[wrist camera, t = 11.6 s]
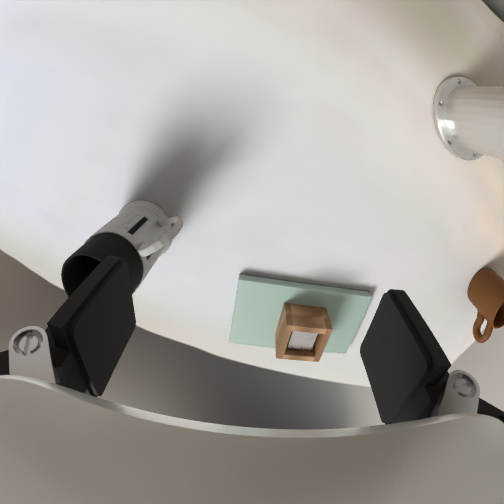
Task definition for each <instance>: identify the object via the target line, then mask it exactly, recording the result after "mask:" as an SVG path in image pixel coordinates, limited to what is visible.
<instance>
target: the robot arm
mask: <svg viewBox="0 0 504 504" xmlns="http://www.w3.org/2000/svg"><path fill="white" fill-rule="evenodd" d="M433 113H434V121H435V125H436V129H437V131H438V134H439V137H440V138H441V140H442V142H443V144H444V145H445V146H446V148H447V149H448V150H449V151H450V152H451V153H452V154H454V155H455V156H457V157H459V158H462V159H465V160H475V159H478V158H480V157H481V156H483V155H484V154H485V155H488V156H491V157H495V158H498V159H501V160H504V86H478V85H476V84H475V83H474V82H473V81H471V80H469V79H467V78H464V77H451V78H448V79H446V80H445V81H443V82H442V83H441V84H440V86H439V88H438V89H437V92H436V94H435V98H434V106H433ZM47 325H48V328H47V329H46V330H45V331H44V330H43V329H42V328H40V327H36V326H30V327H26V328H22V329H20V330H19V331H18V332H16V333H15V334H14V335H13V336H12V338H11V340H10V343H9V350H7V351H4V352H0V504H504V412H503V411H501V410H500V409H498V408H496V407H494V406H493V405H491V404H489V403H487V402H486V401H484V400H482V399H480V398H479V395H480V389H479V386H478V383H477V381H476V380H475V378H474V377H472V376H471V375H470V374H469V373H467V372H465V371H462V370H455V371H453V372H451V373H450V374H449V373H448V371H447V370H448V369H449V368H450V366H451V364H450V362H449V360H448V358H447V357H446V355H445V353H444V352H443V350H442V348H441V346H440V345H439V343H438V341H437V340H436V338H435V337H434V335H433V333H432V332H431V330H430V329H429V327H428V325H427V324H426V322H425V321H424V319H423V318H422V316H421V315H420V313H419V312H418V310H417V309H416V307H415V306H414V304H413V303H412V301H411V300H410V298H409V297H408V295H407V294H406V292H405V291H403V290H393V289H390V290H389V291H388V292H387V293H384V294H383V296H382V299H381V301H380V304H379V306H378V309H377V311H376V313H375V316H374V318H373V320H372V323H371V325H370V327H369V329H368V331H367V334H366V336H365V338H364V340H363V342H362V344H361V348H360V354H361V357H362V360H363V363H364V366H365V369H366V372H367V375H368V378H369V381H370V385H371V388H372V391H373V394H374V397H375V401H376V404H377V407H378V411H379V414H380V418H381V421H382V422H383V423H385V425H378V426H370V427H358V428H344V429H323V430H322V429H320V430H285V429H262V428H249V427H237V426H228V425H220V424H212V423H205V422H198V421H192V420H186V419H181V418H176V417H170V416H165V415H161V414H156V413H152V412H147V411H143V410H139V409H136V408H132V407H128V406H124V405H121V404H117V403H114V402H110V401H107V400H103V399H100V398H97V396H101V395H102V394H103V392H104V390H105V388H106V386H107V383H108V381H109V379H110V377H111V375H112V373H113V371H114V369H115V367H116V365H117V363H118V361H119V358H120V357H121V355H122V352H123V351H124V349H125V347H126V345H127V342H128V341H129V339H130V337H131V335H132V333H133V331H134V329H135V325H136V319H135V313H134V306H133V300H132V292H131V284H130V276H129V267H128V263H127V262H124V259H123V258H121V257H114V256H107V257H106V258H105V259H104V260H103V261H102V262H101V263H100V264H99V265H98V266H97V267H96V268H95V269H94V270H93V271H92V273H91V274H90V275H89V276H88V277H87V278H86V279H85V280H84V281H83V282H82V283H81V284H80V286H79V287H78V288H77V289H76V290H75V291H74V292H73V293H72V295H71V296H70V297H69V298H68V299H67V300H66V302H65V303H64V304H63V305H62V306H61V307H60V308H59V310H58V311H57V312H56V313H55V315H54V316H53V317H52V318H51V319H50V321H49V322H48V323H47Z"/></svg>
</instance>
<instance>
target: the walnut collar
mask: <svg viewBox="0 0 504 504" xmlns="http://www.w3.org/2000/svg"><path fill="white" fill-rule="evenodd" d="M292 331H297V332H307V333H317V334H318V335H317V337H316V340H315V342H314V345H313V347H312V349H311V350H306V349H294V348H287V344H288V341H289V338H290V335H291V332H292ZM332 331H333V328H332V325H331V322H330V318H329V315H328V312H327V309H326V308H324V307H316V306H307V305H299V304H291V303H284V305H283V308H282V312H281V315H280V319H279V322H278V326H277V329H276V333H275V346H276V358H279V359H290V360H302V361H316V362H319V360H320V358H321V356H322V353H323V351H324V349H325V347H326V345H327V342H328V340H329V338H330V335H331V333H332Z"/></svg>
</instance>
